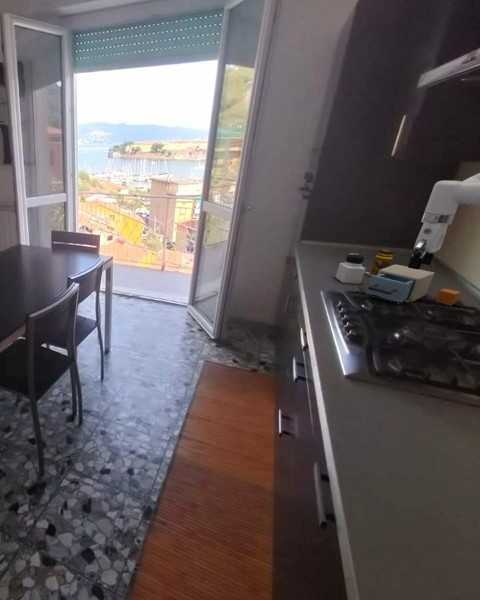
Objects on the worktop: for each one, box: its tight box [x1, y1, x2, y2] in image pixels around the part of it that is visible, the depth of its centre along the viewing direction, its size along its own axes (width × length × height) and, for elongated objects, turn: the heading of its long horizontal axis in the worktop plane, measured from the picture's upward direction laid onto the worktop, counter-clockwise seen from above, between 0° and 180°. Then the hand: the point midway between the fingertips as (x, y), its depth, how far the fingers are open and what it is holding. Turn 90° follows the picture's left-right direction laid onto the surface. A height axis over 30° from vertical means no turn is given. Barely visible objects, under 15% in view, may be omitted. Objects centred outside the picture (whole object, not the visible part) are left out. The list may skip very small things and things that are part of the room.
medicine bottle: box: [335, 253, 367, 285], centre depth 155 cm, size 7×7×12 cm
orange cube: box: [435, 288, 461, 306], centre depth 135 cm, size 5×5×5 cm
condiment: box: [364, 248, 395, 277], centre depth 162 cm, size 7×8×12 cm
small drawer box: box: [378, 264, 435, 303], centre depth 142 cm, size 15×13×10 cm
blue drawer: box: [365, 273, 416, 305], centre depth 137 cm, size 20×11×8 cm, turn 121°
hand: (418, 266), depth 128 cm, fingers open, 9 cm apart
